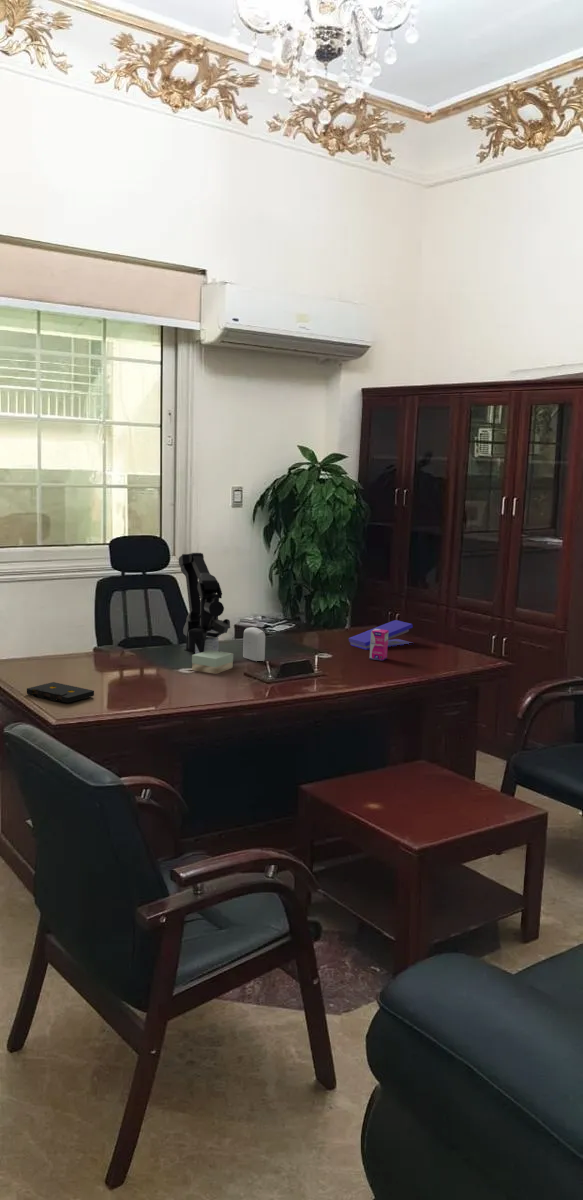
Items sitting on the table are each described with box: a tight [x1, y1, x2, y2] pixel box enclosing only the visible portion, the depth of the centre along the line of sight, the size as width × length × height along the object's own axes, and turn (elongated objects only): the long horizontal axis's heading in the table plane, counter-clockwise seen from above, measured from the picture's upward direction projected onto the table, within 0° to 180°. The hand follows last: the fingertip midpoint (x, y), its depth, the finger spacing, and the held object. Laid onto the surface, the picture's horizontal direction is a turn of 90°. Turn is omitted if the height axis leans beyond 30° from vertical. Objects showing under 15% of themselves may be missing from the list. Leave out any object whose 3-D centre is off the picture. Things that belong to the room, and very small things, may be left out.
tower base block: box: [191, 661, 234, 675], centre depth 332 cm, size 10×12×3 cm
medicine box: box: [194, 636, 220, 654], centre depth 347 cm, size 8×4×9 cm, turn 65°
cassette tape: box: [26, 681, 95, 704], centre depth 288 cm, size 18×12×2 cm, turn 59°
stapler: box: [348, 619, 414, 651], centre depth 389 cm, size 12×28×10 cm, turn 128°
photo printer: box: [242, 626, 266, 662], centre depth 350 cm, size 10×4×12 cm, turn 39°
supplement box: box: [369, 629, 389, 662], centre depth 361 cm, size 6×6×12 cm
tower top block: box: [191, 650, 234, 667], centre depth 332 cm, size 10×12×3 cm
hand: (206, 652), depth 348 cm, fingers open, 7 cm apart
